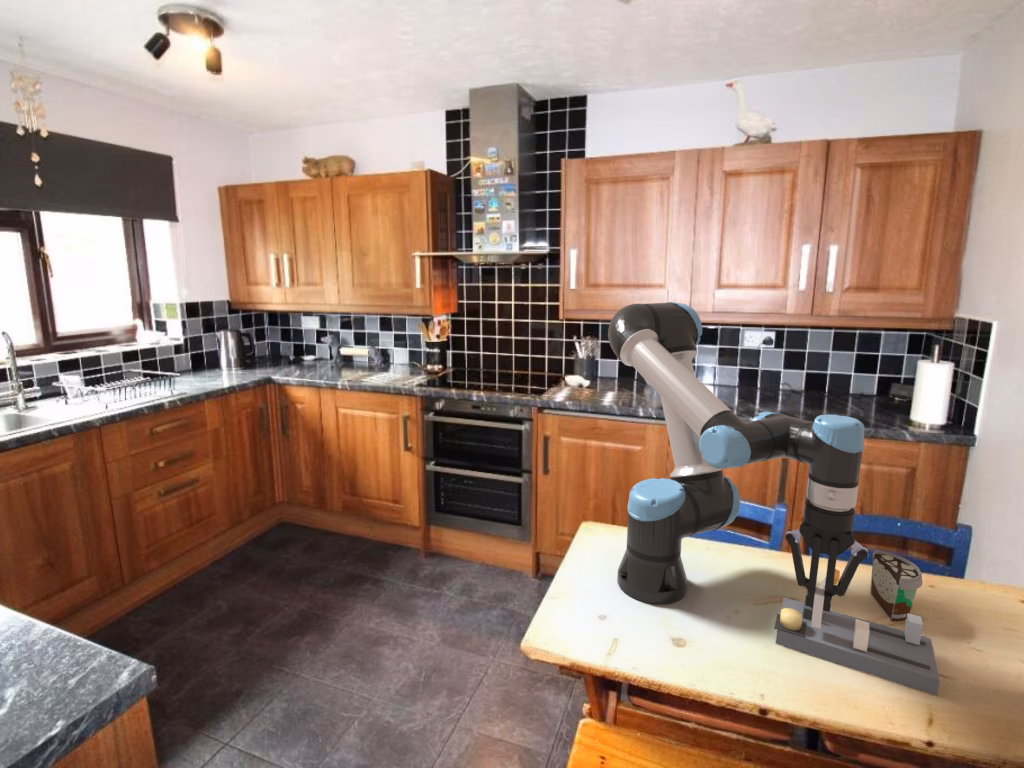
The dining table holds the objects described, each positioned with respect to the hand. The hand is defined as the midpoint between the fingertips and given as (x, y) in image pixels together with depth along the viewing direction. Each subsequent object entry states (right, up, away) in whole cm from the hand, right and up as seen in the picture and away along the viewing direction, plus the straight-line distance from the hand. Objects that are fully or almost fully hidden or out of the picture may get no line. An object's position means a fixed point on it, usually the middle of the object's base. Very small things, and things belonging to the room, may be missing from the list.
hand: (816, 623), depth 98 cm
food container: (+24, -3, +12) cm, 27 cm away
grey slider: (+16, -2, -2) cm, 17 cm away
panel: (+7, -5, +1) cm, 9 cm away
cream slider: (+6, -3, -3) cm, 7 cm away
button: (-3, -2, +3) cm, 5 cm away
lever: (+3, 0, +6) cm, 7 cm away
